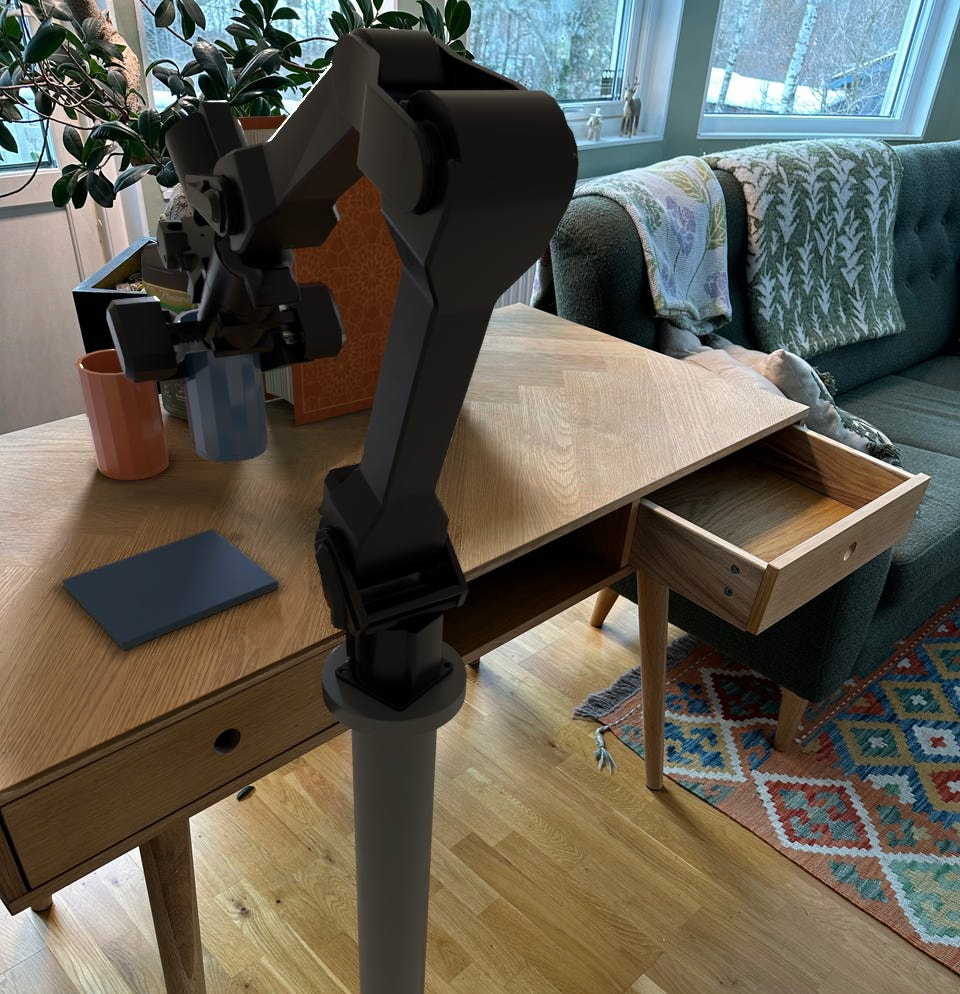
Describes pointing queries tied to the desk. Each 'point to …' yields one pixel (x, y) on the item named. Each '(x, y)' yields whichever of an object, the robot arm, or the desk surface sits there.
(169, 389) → the coffee jar
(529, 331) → the desk surface
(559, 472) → the desk surface
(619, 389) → the desk surface
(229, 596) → the blue mat
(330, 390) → the book
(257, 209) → the robot arm
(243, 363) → the blue cup
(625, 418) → the desk surface
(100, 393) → the terracotta cup
